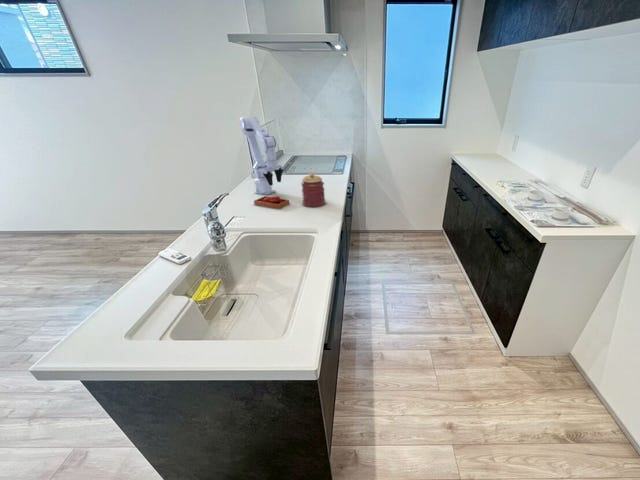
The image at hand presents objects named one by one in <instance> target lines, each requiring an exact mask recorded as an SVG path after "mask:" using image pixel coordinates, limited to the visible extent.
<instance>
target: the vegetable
mask: <svg viewBox="0 0 640 480" xmlns="http://www.w3.org/2000/svg"><path fill="white" fill-rule="evenodd" d="M282 199H283V198H281V197H280V196H267V197H266V198H264V199H263V201H264V202H267V203H273V204H280V203H281V202H280V200H282Z"/></svg>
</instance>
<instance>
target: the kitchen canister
mask: <svg viewBox="0 0 640 480" xmlns="http://www.w3.org/2000/svg"><path fill="white" fill-rule="evenodd" d="M301 181H302V182H301V183H300V185H301V194H302V203H303V205H304V206H305V207H307V208H318V207H322V206H324V205H325V204H326V196H325V187H324V185H325V182H324V181H323V178H322V177H320V175H315V174H314V173H313V172H310V173H309V175H306V176H304V177H302V179H301Z"/></svg>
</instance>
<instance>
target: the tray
mask: <svg viewBox="0 0 640 480" xmlns="http://www.w3.org/2000/svg"><path fill="white" fill-rule="evenodd" d="M266 197H268V195H264V196H262V197H259V198H257V199H255V200H253V204H254V206H260V207H266V208H272V209H276V210H277V209H278V210H280V209H283V208H284V207H286V206H288V205H290V200H289V199H285V198H281V199H282V200H280V202H281V203H280V204H273V203H267V202H264V201H263V199H264V198H266Z"/></svg>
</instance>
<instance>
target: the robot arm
mask: <svg viewBox="0 0 640 480" xmlns="http://www.w3.org/2000/svg"><path fill="white" fill-rule="evenodd" d="M239 126H240V129H241V132H242V134H243V135H245V136H246V138H247V141H248V145H249V147H250V150H251V153H252V156H253V159H254V162H255V164H254V165H253V166H252V170H253V176H254V178H255V180H254V186H255V191H256V192H255V194H260V195H264V196H268V195H270V194H273V193H275V192H276V190H273V189H272V186H273V185H274V181H273V176H274V175H275V178H276V182H277V183H281V182H282V176H283V173H284V169H283V165H282V164H278V160H277V153H276V147H277V141H276V138H275V137H274V136H273V135H270V134H269V133H268V132H267V131H266V130H265V128H262V127H261V126H260V121H259V118H258V117H257V116H250V117H249V116H248V117H240V118H239ZM257 138H258V139H259V141H260V143H261V145H262V149H263V151H264V155H265V160H264V158H263V155H262V151H261V148H260V146H259V143H258V140H257ZM265 161H266V162H265ZM273 172H274V173H273Z"/></svg>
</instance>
